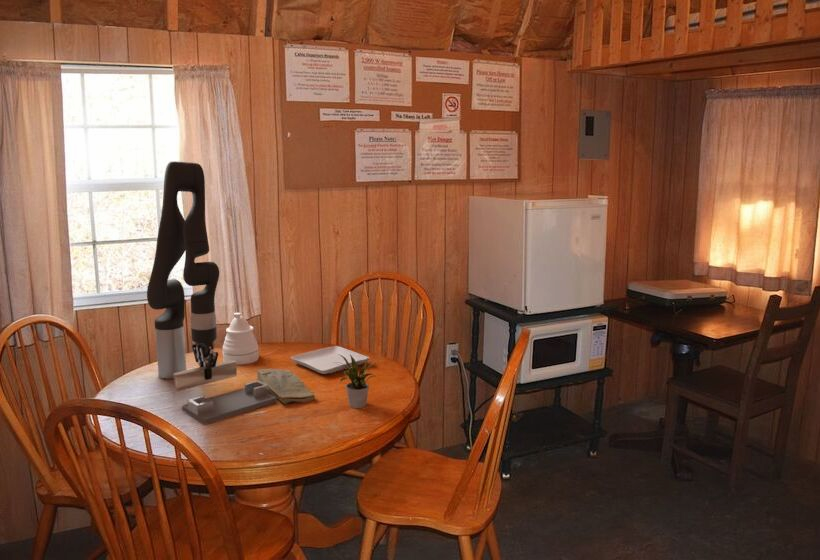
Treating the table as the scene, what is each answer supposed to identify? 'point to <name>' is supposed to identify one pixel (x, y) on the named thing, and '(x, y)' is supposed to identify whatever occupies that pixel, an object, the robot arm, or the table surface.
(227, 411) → the base board
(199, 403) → the end caps
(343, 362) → the salad plate
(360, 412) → the table surface
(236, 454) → the table surface
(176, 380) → the slat
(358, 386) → the house plant
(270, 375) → the stone slab
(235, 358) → the honey pot
